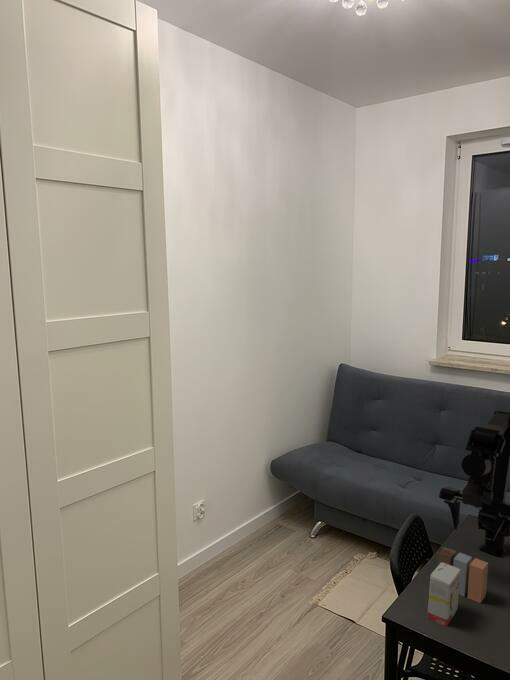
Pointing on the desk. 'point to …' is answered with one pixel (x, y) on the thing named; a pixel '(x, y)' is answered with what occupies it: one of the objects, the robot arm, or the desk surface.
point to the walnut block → (446, 556)
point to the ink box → (443, 593)
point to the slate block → (463, 571)
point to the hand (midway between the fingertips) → (473, 534)
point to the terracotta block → (477, 580)
